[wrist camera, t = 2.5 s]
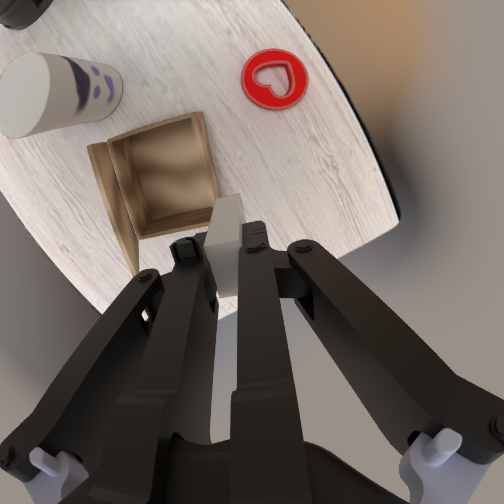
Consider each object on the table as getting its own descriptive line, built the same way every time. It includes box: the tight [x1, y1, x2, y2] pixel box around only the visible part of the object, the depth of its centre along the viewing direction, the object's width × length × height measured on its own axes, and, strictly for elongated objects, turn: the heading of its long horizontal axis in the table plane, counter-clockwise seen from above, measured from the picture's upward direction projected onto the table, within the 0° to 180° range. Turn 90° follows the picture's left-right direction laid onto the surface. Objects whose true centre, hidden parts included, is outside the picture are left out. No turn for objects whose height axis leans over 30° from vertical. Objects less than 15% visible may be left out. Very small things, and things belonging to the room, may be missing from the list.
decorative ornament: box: [241, 49, 308, 110], centre depth 35 cm, size 10×10×3 cm
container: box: [0, 52, 123, 139], centre depth 26 cm, size 10×10×20 cm
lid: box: [87, 142, 139, 277], centre depth 30 cm, size 15×12×1 cm
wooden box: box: [107, 112, 221, 240], centre depth 39 cm, size 16×13×7 cm
